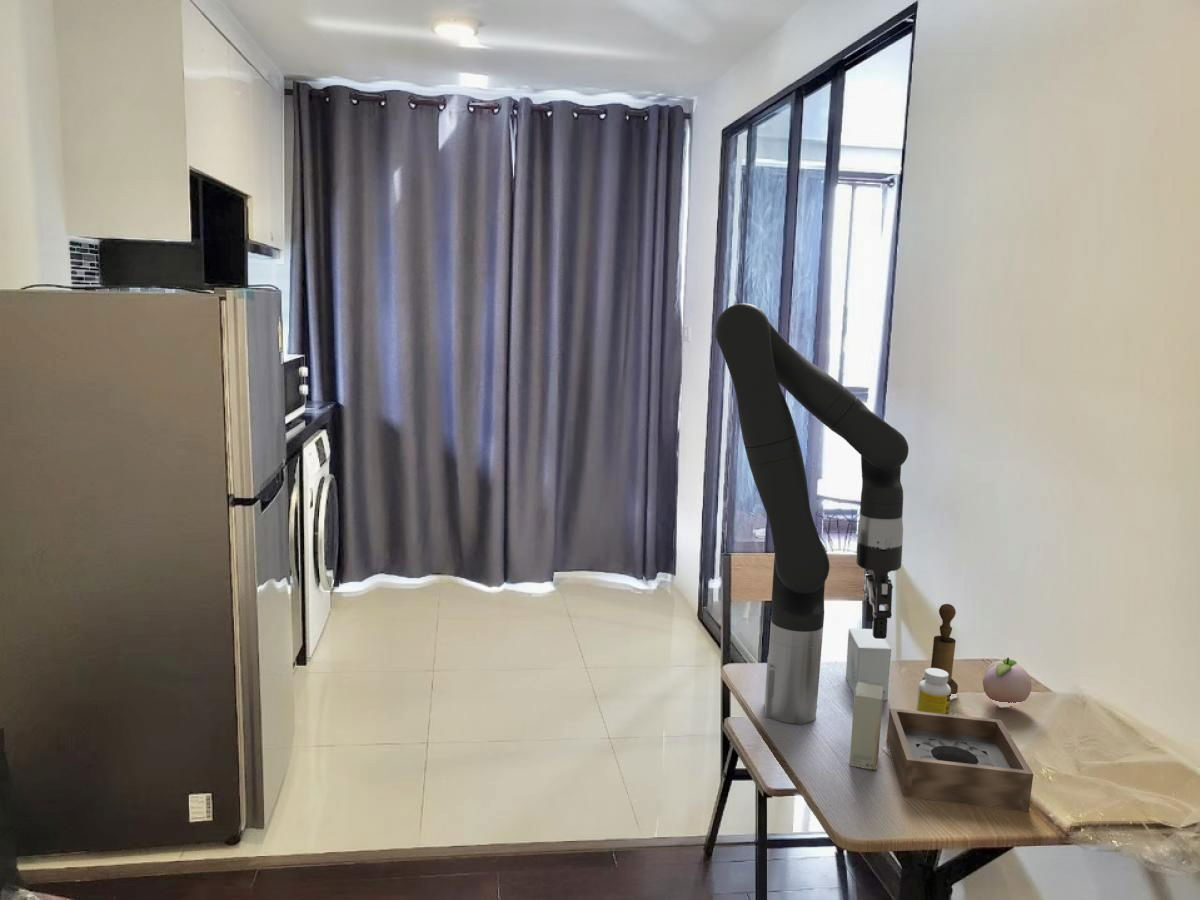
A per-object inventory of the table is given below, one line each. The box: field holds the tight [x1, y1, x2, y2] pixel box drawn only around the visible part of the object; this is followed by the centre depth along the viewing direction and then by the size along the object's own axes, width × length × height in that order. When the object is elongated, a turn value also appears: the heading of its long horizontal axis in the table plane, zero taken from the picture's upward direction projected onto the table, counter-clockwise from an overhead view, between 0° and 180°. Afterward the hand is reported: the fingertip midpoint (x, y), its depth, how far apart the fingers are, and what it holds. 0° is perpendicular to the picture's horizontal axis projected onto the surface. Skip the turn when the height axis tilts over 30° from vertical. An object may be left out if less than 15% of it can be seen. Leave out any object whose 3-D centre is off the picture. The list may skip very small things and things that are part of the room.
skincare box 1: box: [845, 627, 892, 701], centre depth 175 cm, size 10×6×10 cm, turn 175°
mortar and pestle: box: [921, 603, 959, 694], centre depth 173 cm, size 7×6×18 cm
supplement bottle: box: [915, 667, 951, 714], centre depth 161 cm, size 5×5×10 cm
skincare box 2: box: [849, 682, 884, 771], centre depth 146 cm, size 6×4×12 cm
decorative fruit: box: [982, 657, 1032, 703], centre depth 168 cm, size 9×8×10 cm
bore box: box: [886, 708, 1034, 812], centre depth 143 cm, size 18×18×6 cm
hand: (875, 629), depth 159 cm, fingers open, 8 cm apart
